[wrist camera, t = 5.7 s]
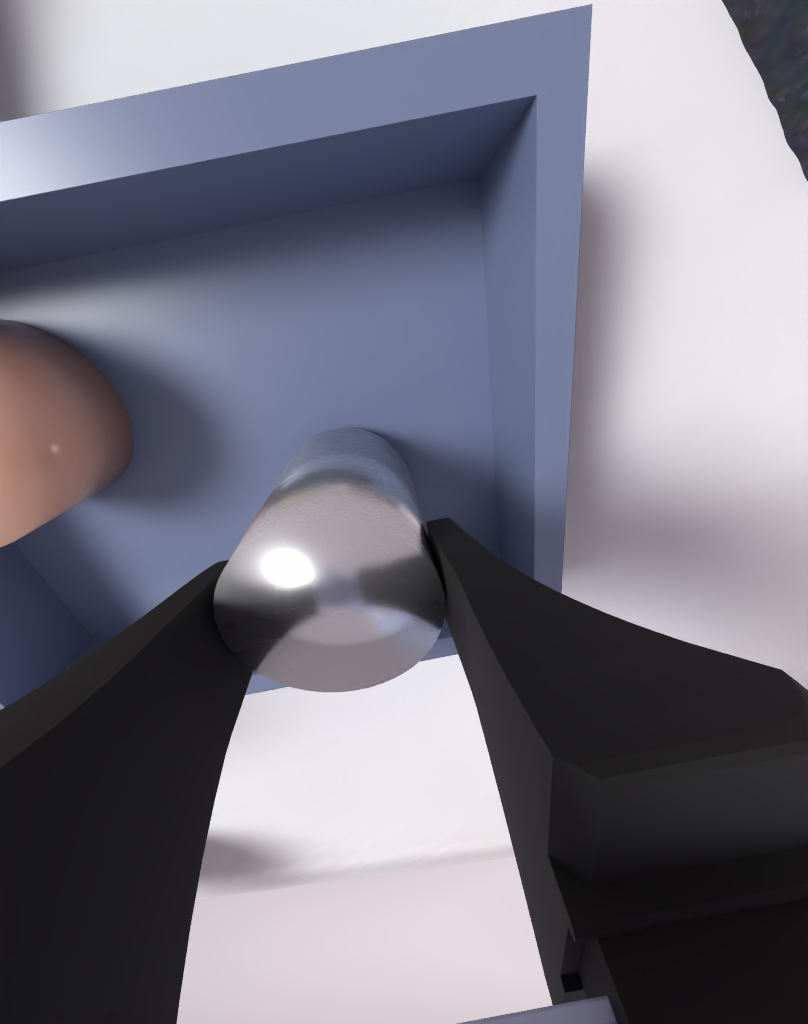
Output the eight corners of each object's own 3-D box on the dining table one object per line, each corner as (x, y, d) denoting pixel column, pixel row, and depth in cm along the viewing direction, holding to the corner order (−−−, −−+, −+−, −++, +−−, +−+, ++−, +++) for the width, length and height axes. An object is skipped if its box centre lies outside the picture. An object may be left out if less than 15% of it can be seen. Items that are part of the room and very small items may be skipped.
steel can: (402, 417, 13) (432, 499, 7) (419, 532, 15) (454, 672, 9) (267, 440, 13) (169, 544, 6) (305, 552, 15) (261, 706, 9)
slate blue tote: (500, 141, 11) (592, 4, 6) (512, 560, 18) (559, 634, 14) (-199, 279, 11) (-601, 241, 6) (99, 640, 18) (12, 739, 14)
